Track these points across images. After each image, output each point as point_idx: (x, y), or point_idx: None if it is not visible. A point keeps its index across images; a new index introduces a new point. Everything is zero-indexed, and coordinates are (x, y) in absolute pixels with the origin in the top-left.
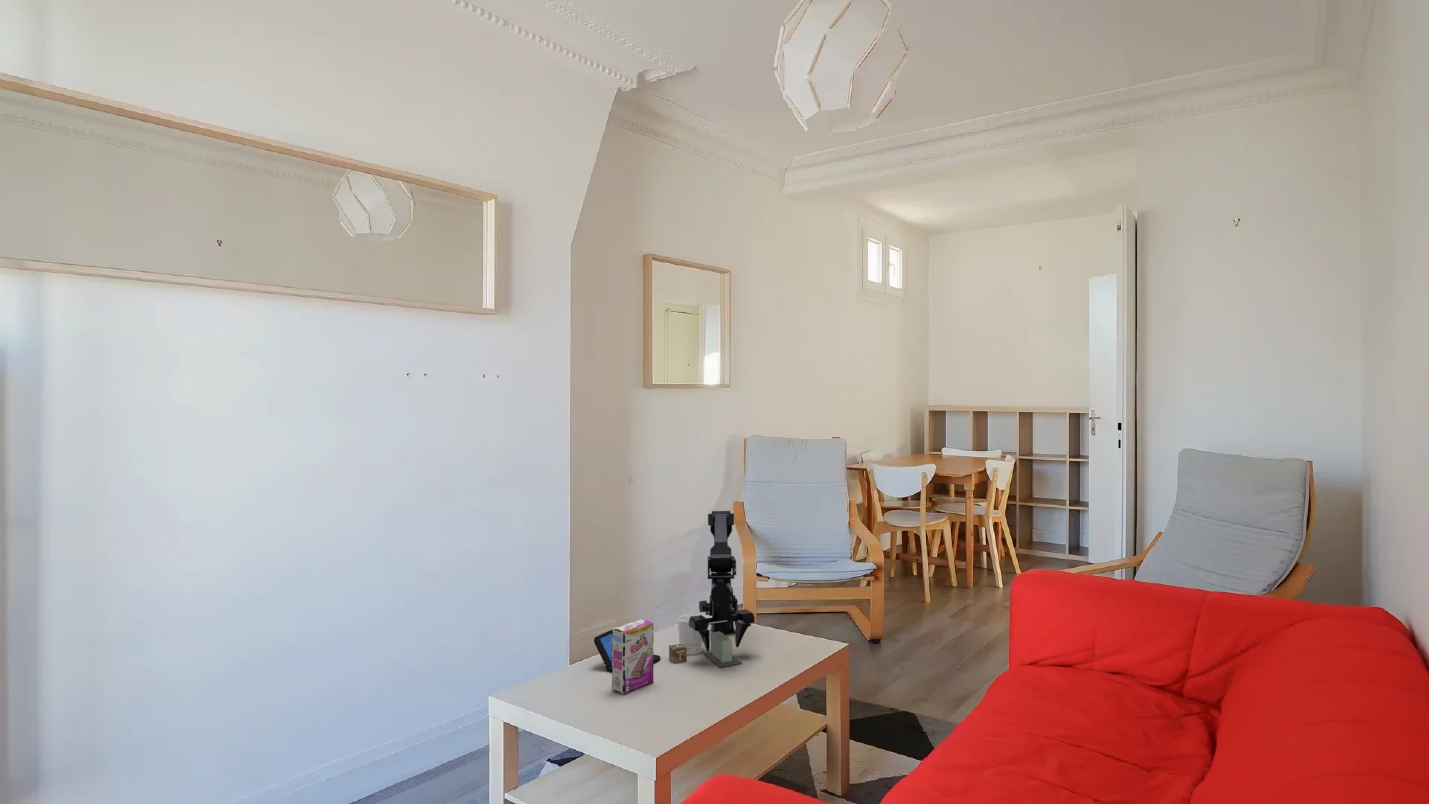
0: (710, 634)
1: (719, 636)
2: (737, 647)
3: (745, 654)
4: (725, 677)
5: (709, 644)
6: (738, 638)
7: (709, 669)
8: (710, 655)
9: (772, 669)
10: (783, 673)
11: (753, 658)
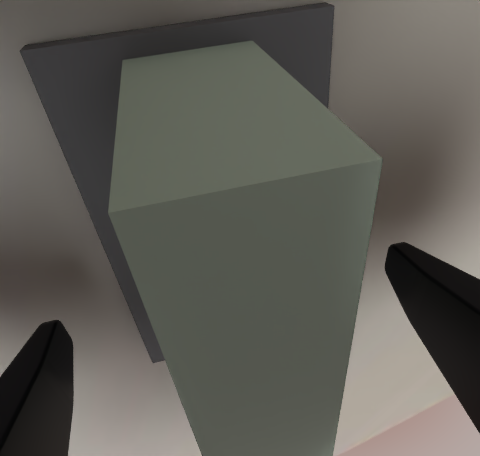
0: (110, 192)
1: (244, 401)
2: (388, 268)
3: (444, 141)
4: (160, 433)
5: (67, 453)
6: (445, 369)
7: (79, 365)
8: (109, 151)
9: (405, 367)
10: (412, 396)
11: (432, 233)
